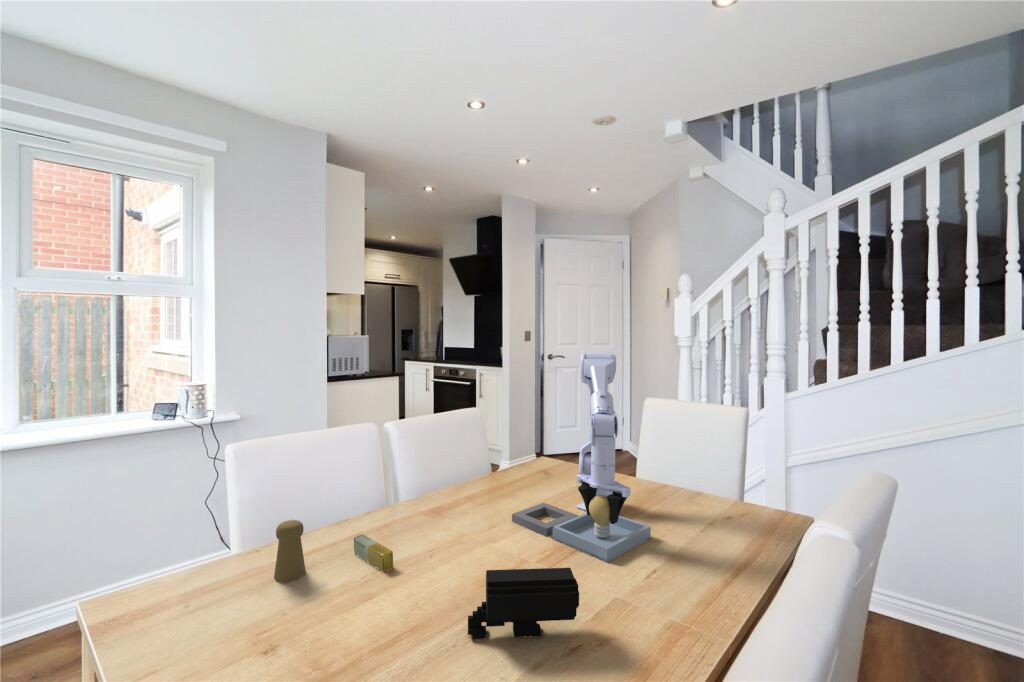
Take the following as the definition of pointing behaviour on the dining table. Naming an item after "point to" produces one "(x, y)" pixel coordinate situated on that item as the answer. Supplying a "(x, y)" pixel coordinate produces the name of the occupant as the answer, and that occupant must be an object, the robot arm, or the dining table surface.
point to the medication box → (373, 552)
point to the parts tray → (605, 549)
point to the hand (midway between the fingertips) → (602, 518)
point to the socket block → (529, 515)
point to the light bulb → (600, 515)
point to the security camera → (525, 600)
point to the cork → (289, 552)
